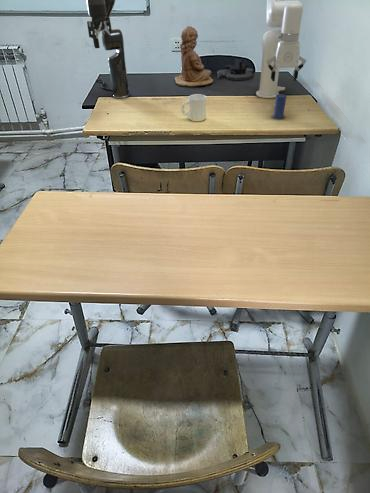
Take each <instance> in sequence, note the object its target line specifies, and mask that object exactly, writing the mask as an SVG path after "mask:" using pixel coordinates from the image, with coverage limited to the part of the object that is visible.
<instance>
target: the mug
mask: <svg viewBox="0 0 370 493" xmlns="http://www.w3.org/2000/svg"><path fill="white" fill-rule="evenodd" d="M186 105H188V112H186V111H185V106H186ZM180 109H181V113H182V115H184V116H186V117H188V118H189V120H190V121H193V122H201V121H204V120H205V119H207V118H206V117H207V96H206V95H205V94H202V93H195V94H190V95H188V99H186V100H185V101H183V103H182V104H181V107H180Z"/></svg>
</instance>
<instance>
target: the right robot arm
mask: <svg viewBox="0 0 370 493" xmlns="http://www.w3.org/2000/svg"><path fill="white" fill-rule="evenodd" d="M265 11H266V13H265V22H266V26H267V27H268V28H281V29H270V30H267V31H266V32H264V34H263V35H262V38H261V40H262V41H261V42H262V45H261V46H262V58H261V69H260V78H259V86H258V87H259V88H258V90H256V92H255V95H256V97H259V98H261V99H276V95H278V94H280V92H282V91H285V90H286V87H285V86H280V85H278V82H279V74H280V69H291V68H293V69H294V70H293V74H292V80H293V81H294V82H296V81H297V79H298V76H299V72H300V71H301V70H302V69H303V67H304V66H305V64H306V63H307V60H306V58H304V57H302V56H300V55H301V41H300V40H299V37H300V32H301V25H302V19H303V18H302V17H303V12H304V5H303V3H302V1H300V0H266V10H265ZM300 62H301V63H300ZM299 63H300V64H299Z"/></svg>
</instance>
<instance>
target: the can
mask: <svg viewBox="0 0 370 493" xmlns="http://www.w3.org/2000/svg"><path fill="white" fill-rule="evenodd" d="M286 102H287V95H286V94H284V93H279V94H278V95H276V97H275V100H274V107H273V108H274V109H273V119H275V120H282V119H284V114H285V108H286Z"/></svg>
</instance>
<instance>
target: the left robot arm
mask: <svg viewBox="0 0 370 493" xmlns="http://www.w3.org/2000/svg"><path fill="white" fill-rule="evenodd" d="M115 2H116V0H86V6H87V12H88V16H89V17H90V18H91V20H90V21H89V20H88V21H87V22H86V25H87V31H88V37H89V38H91V39H92V42H93V47H94V49H100V47H101V46H100V40H99V35H100V34H101V35H100V36H101V43H102V47H103V49H104V50H105V51H116V52H115V53H114V54H112V55H110V56H109V57H108V58H107V64H108V70H109V75H110V83H111V88H106V87H105V84H106V83H105V81H104V80H102V79H101V78H96V80H95V82H101V85H100V87H101V89H103V90H105V91H111V92H112V97H113V98H114V99H125V98H128V97H130V90H129V89H130V87H129V82H128V81H129V79H128V74H127V66H126V65H127V64H126V55H125V43H124V41H125V40H124V36H123V32H122V30H121V29H119V28H116V29H112V24H111V13H112V12H113V9H114V7H115Z"/></svg>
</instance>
